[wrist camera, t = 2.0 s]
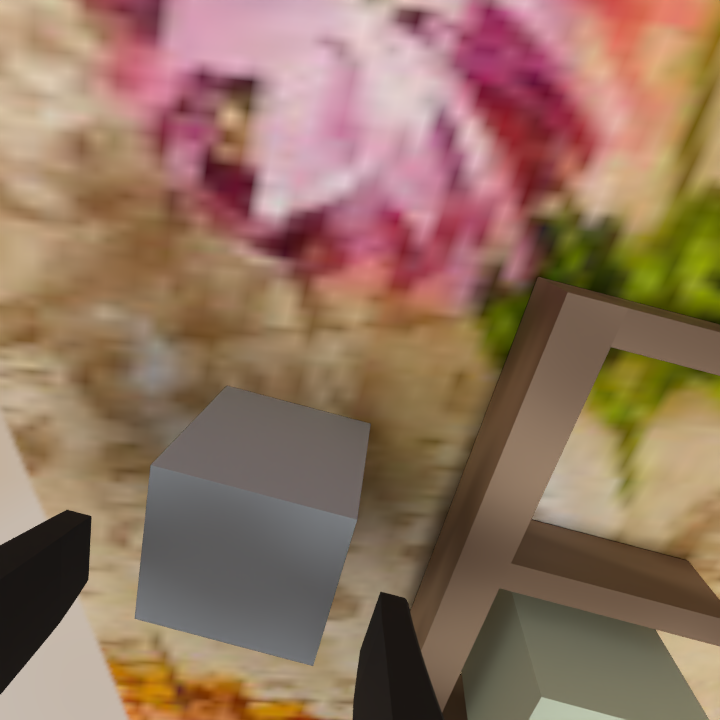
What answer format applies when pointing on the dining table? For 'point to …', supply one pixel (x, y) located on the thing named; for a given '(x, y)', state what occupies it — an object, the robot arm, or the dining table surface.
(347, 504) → the slate block
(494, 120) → the dining table surface
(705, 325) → the comb rack
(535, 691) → the sage block
